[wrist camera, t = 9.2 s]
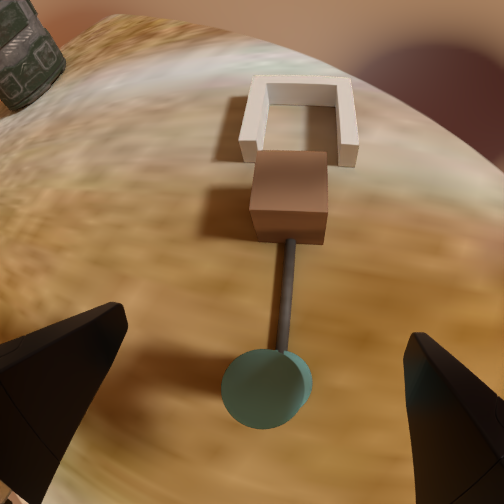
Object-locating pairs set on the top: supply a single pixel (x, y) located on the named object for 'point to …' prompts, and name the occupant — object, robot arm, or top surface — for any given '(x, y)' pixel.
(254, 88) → the lane
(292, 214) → the tethered block
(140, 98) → the top surface
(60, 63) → the canister
